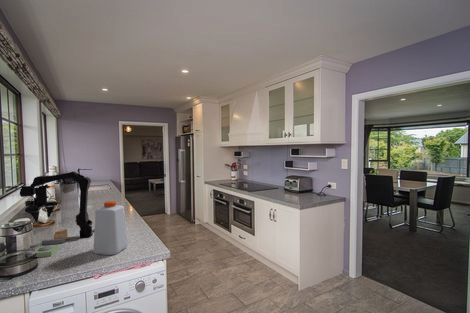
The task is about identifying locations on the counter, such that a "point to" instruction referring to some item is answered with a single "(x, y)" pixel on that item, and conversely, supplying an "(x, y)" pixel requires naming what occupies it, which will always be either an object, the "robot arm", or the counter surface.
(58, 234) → the brown cardboard carton
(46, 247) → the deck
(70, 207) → the counter surface
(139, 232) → the counter surface
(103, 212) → the plastic bottle
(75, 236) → the counter surface
